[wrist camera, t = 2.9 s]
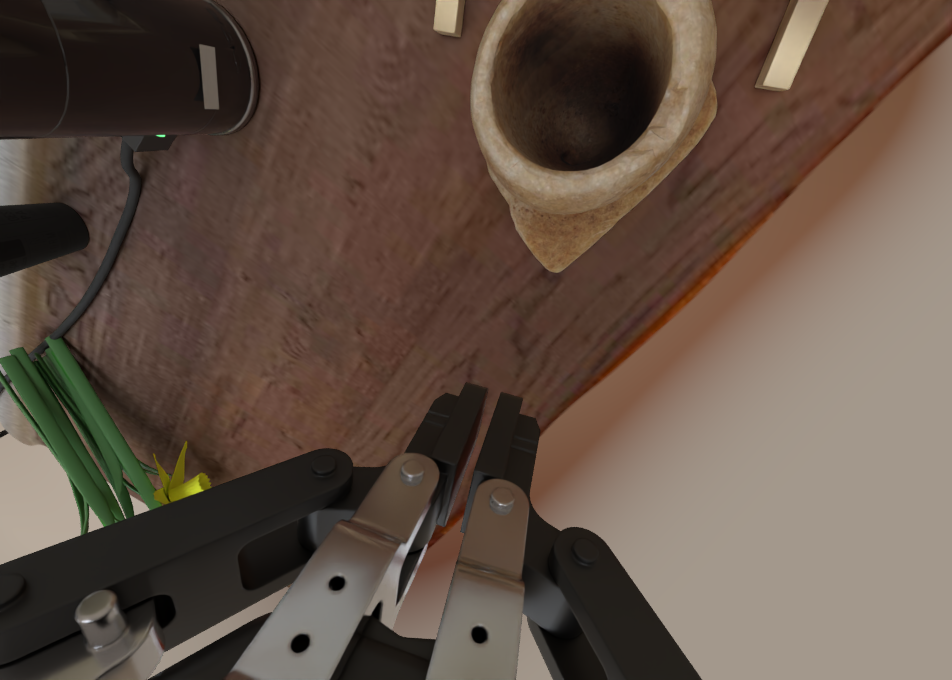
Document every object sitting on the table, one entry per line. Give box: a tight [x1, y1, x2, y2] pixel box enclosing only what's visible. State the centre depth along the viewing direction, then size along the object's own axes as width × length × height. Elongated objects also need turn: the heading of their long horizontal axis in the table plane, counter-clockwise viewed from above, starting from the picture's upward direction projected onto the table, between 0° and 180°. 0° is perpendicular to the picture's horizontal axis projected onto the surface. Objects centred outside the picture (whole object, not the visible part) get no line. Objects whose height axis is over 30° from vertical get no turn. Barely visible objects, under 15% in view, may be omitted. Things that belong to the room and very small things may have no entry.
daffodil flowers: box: [0, 336, 212, 535], centre depth 51 cm, size 17×15×35 cm
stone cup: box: [470, 0, 717, 273], centre depth 24 cm, size 15×12×15 cm
